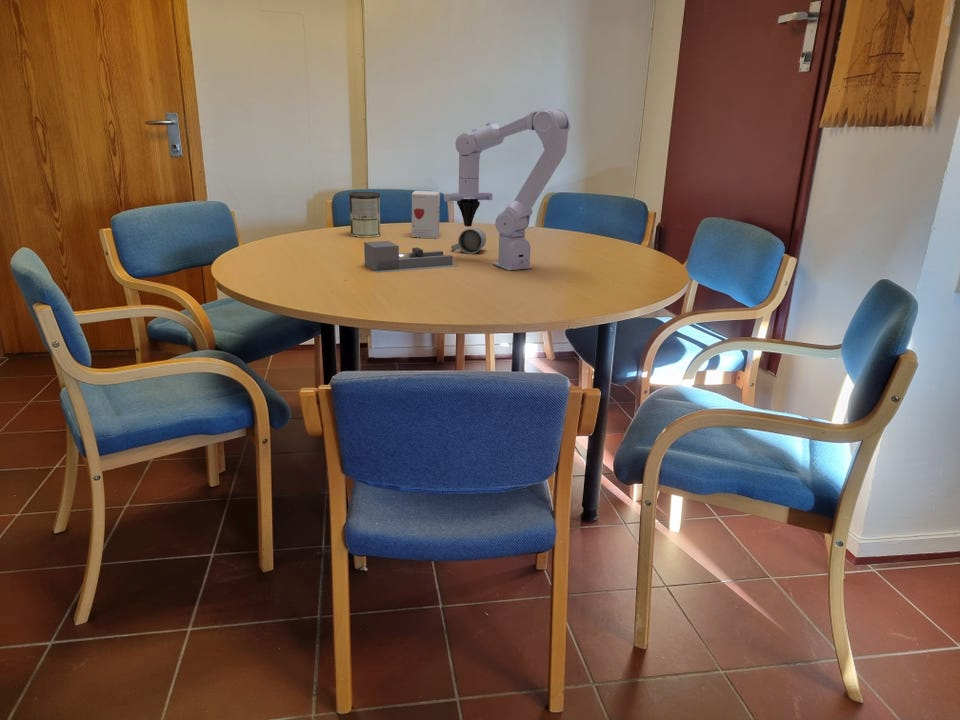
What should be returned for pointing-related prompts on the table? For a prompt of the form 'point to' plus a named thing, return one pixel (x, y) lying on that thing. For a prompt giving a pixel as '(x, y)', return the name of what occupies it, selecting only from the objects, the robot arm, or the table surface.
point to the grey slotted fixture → (387, 258)
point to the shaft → (415, 253)
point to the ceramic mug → (470, 240)
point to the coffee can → (365, 214)
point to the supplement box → (425, 214)
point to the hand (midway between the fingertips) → (467, 226)
